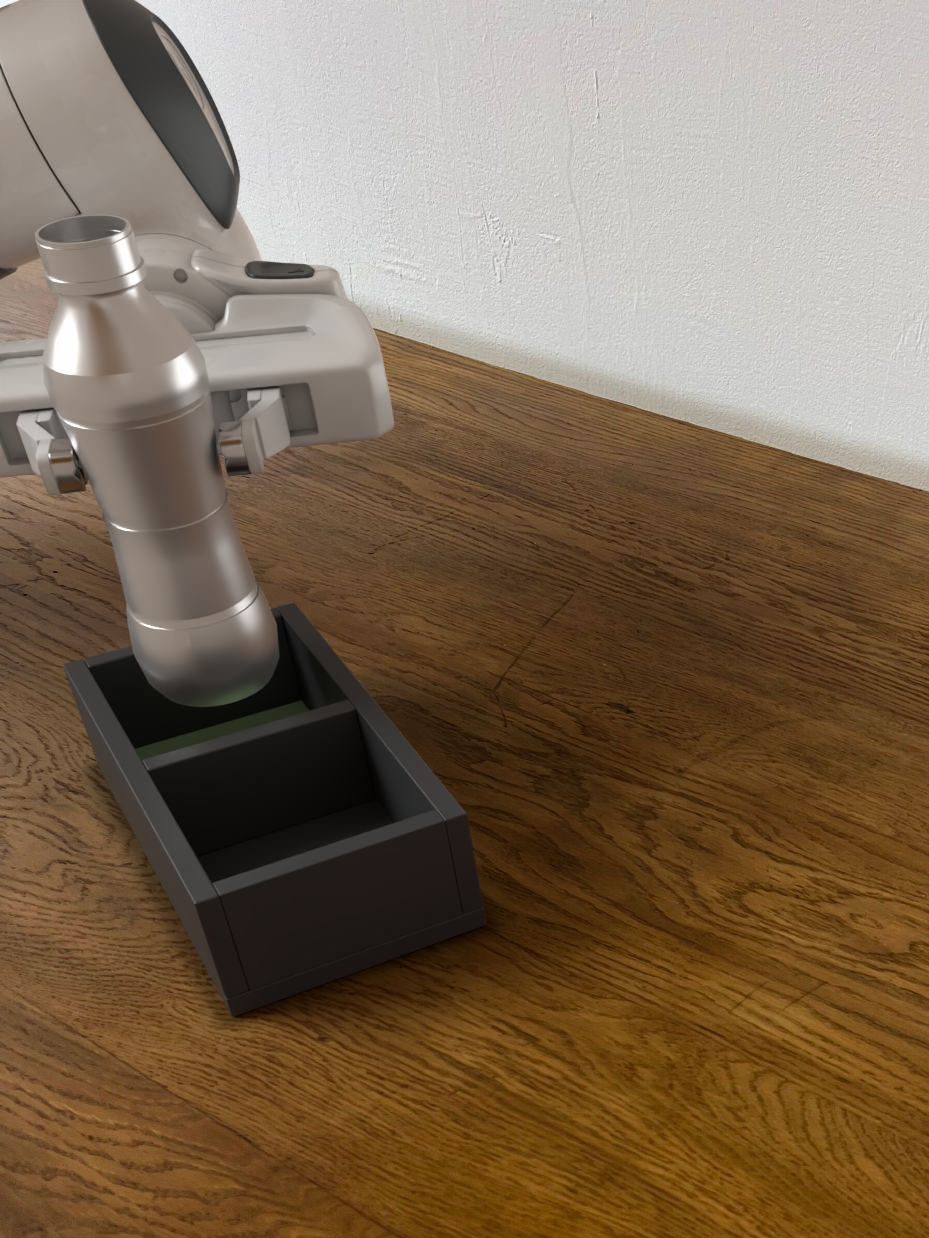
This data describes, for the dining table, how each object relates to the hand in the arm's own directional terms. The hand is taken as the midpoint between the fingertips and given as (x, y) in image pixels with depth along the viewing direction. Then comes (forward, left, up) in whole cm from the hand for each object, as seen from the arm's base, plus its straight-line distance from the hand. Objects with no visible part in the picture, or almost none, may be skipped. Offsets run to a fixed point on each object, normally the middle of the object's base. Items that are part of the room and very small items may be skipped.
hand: (152, 467), depth 66 cm
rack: (0, -4, -17) cm, 17 cm away
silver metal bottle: (0, +1, -11) cm, 11 cm away
